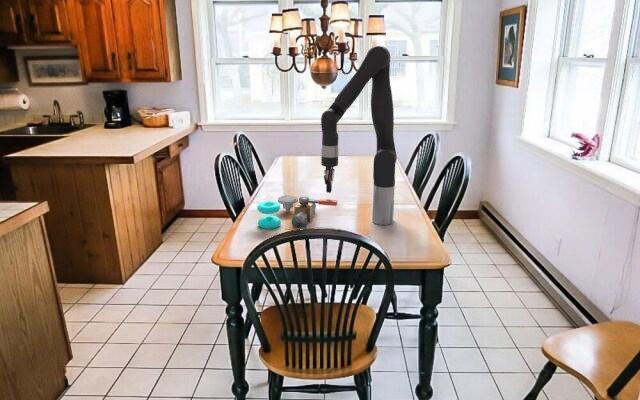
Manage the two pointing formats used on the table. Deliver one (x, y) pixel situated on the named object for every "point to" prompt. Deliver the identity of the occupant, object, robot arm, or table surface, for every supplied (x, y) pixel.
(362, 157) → the table surface
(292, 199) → the showerhead
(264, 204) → the donuts
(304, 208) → the valve body
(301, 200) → the lever
